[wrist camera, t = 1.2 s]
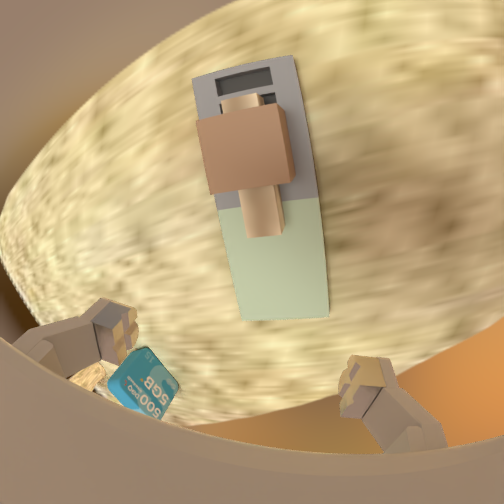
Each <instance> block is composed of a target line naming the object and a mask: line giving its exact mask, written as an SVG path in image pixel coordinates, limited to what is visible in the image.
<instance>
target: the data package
mask: <svg viewBox="0 0 504 504" xmlns="http://www.w3.org/2000/svg"><path fill="white" fill-rule="evenodd" d="M107 386H108V389H109V391H110V392H111V393H112V394H113V395H114V396H115V397H116V398H117V399H118V400H119V401H120V403H121V404H122V405H123V406H124V407H127V408H129V409H132V410H134V411H137V412H139V413H142V414H145V415H147V416H150V417H153V418H156V419H159V420H161V418H162V417H163V415H164V413H165V411H166V410H167V408H168V406H169V404H170V403H171V401H172V399H173V398H174V396H175V394H176V392H177V391H178V383H177V382H176V380H175V379H174V378H173V377H172V376H171V374H170V373H169V372H168V371H167V370H166V368H165V367H164V366H163V365H162V364H161V362H160V361H159V360H158V359H157V357H156V356H155V355H154V354H153V352H152V351H151V350H150V349H148V348H143V349H140V350H136V351H133V352H131V353H130V354H129V356H128V357H127V358H126V359H125V360H124V362H123V363H122V364H121V365H120V366H119V368H118V369H117V370H116V371H115V372H114V374H113V375H112V376H111V377H110V379H109V380H108V382H107Z"/></svg>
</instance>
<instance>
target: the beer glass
mask: <svg viewBox="0 0 504 504" xmlns="http://www.w3.org/2000/svg"><path fill="white" fill-rule="evenodd" d="M105 375H106V372H105V370H104V368H103V367H102V365H101V364H100V363H98V362H97V363H95V364H93V365H91V366H89V367H87V368H85V369H83V370H81V371H79V372H78V373H76V374H75V375H73V376H72V377H71V378H69V379H68V380H69V381H71V382H73V383H75V384H77V385H79V386H81V387H83V388H85V389H87V390H89V391H91V392H92V391H93V389H94V387H95V385H96V384H97V383H98V381H100V380H101V379H102V378H103V377H105Z"/></svg>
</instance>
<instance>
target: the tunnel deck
mask: <svg viewBox="0 0 504 504" xmlns="http://www.w3.org/2000/svg"><path fill="white" fill-rule="evenodd" d="M192 83H193V89H194V95H195V100H196V105H197V111H198V116H199V120H197V121H196V125H197V130H198V135H199V140H200V146H201V151H202V156H203V161H204V166H205V171H206V176H207V180H208V185H209V190H210V195H212V194H214V197H215V202H216V207H217V211H218V216H219V221H220V225H221V230H222V235H223V239H224V244H225V248H226V253H227V257H228V262H229V266H230V271H231V275H232V279H233V284H234V288H235V292H236V297H237V301H238V305H239V310H240V314H241V318H242V321H256V320H286V319H306V318H323V317H329V296H328V282H327V269H326V258H325V247H324V237H323V228H322V219H321V211H320V203H319V195H318V188H317V181H316V174H315V167H314V161H313V154H312V148H311V142H310V136H309V131H308V125H307V120H306V114H305V109H304V104H303V99H302V94H301V89H300V85H299V80H298V75H297V71H296V66H295V62H294V58H293V55H289V56H283V57H277V58H272V59H267V60H262V61H257V62H252V63H248V64H243V65H239V66H235V67H231V68H227V69H223V70H220V71H216V72H213V73H209V74H206V75H202V76H199V77H196V78H193V79H192ZM253 93H257V94H259V95H260V96H261V97H262V98H263V99H264V104H265V105H262V106H257V107H252V108H247V109H242V110H238V111H233V112H229V113H225V114H223V110H222V104H221V101H222V100H226V99H230V98H235V97H239V96H243V95H248V94H253ZM277 184H279V187H280V193H281V199H282V205H283V212H284V218H285V228H284V230H283V232H282V235H275V236H265V237H256V238H247V234H246V229H245V224H244V219H243V214H242V209H241V203H240V198H239V193H238V190H242V189H249V188H256V187H262V186H270V185H277Z"/></svg>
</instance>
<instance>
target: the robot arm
mask: <svg viewBox="0 0 504 504" xmlns="http://www.w3.org/2000/svg"><path fill="white" fill-rule="evenodd" d="M136 318H137V310H136V309H135V308H134V307H131V306H128V305H125V304H122V303H119V302H116V301H113V300H110V299H107V298H104V297H103V298H100V299H99V300H98V301H97V302H96V303H94V304H93V305H92V306H91V307H90V308H89V309H88V310H87V311H86V312H85V313H84V314H82V315H81V316H80V317H77V316H76V317H72V318H69V319H65V320H61V321H58V322H54V323H51V324H47V325H43V326H40V327H36V328H32V329H29V330H28V331H27V332H26V333H24V334H23V335H22V336H21V337H20V338H19V339H18V340H17V341H16V342H14V343H13V344H12V345H11V344H9V343H8V342H6V341H5V340H4V339H2V338H1V337H0V504H504V435H502V436H498V437H495V438H491V439H487V440H483V441H479V442H475V443H470V444H465V445H460V446H454V447H448V445H447V441H446V438H445V435H444V432H443V428H442V425H441V423H440V422H439V421H437V420H436V419H435V418H434V417H433V416H432V415H431V414H430V413H429V412H428V411H427V410H425V409H424V408H423V407H422V406H421V405H420V404H419V403H418V402H417V401H416V400H415V399H413V398H412V397H411V396H410V395H409V394H408V393H407V392H406V391H405V390H404V389H403V388H399V386H398V382H397V379H396V376H395V373H394V370H393V367H392V364H391V361H390V359H389V358H381V357H367V356H358V355H351V357H350V358H349V360H348V362H347V364H348V368H347V369H345V370H344V371H343V372H342V375H341V377H340V380H339V386H338V392H339V395H340V396H341V397H342V400H341V401H340V403H339V404H340V415H341V417H347V418H359V419H361V420H362V421H363V423H364V424H365V426H366V427H367V429H368V430H369V431H370V433H371V434H372V436H373V437H374V438H375V440H376V441H377V443H378V444H379V445H380V447H381V448H382V450H383V451H384V453H383V454H334V453H332V454H331V453H318V452H306V451H295V450H287V449H280V448H273V447H266V446H260V445H254V444H249V443H243V442H238V441H234V440H229V439H225V438H221V437H217V436H212V435H208V434H204V433H201V432H197V431H194V430H190V429H187V428H183V427H180V426H177V425H174V424H171V423H168V422H165V421H162V420H159V419H156V418H153V417H150V416H147V415H145V414H142V413H139V412H137V411H134V410H132V409H129V408H127V407H124V406H122V405H120V404H117V403H115V402H113V401H110V400H108V399H106V398H104V397H101V396H99V395H97V394H95V393H93V392H91V391H89V390H87V389H85V388H83V387H81V386H79V385H77V384H75V383H73V382H71V381H69V380H67V379H66V377H68V376H70V375H72V374H74V373H77V372H79V371H81V370H83V369H85V368H87V367H89V366H91V365H93V364H95V363H97V362H99V361H101V359H102V360H104V361H107V362H110V363H112V364H115V365H118V366H120V364H121V363H122V362H123V360H124V359H125V358H126V356H127V351H126V350H129V349H131V348H133V346H134V345H135V344H136V341H137V338H138V332H139V330H138V325H137V324H136V322H135V321H134V320H135V319H136Z"/></svg>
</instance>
